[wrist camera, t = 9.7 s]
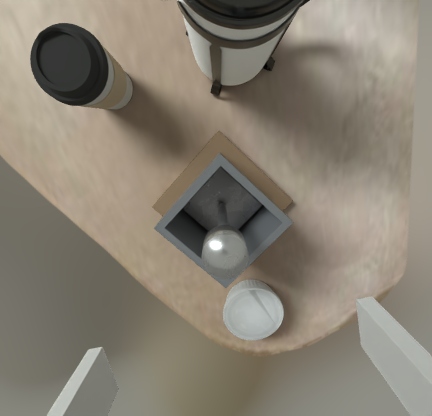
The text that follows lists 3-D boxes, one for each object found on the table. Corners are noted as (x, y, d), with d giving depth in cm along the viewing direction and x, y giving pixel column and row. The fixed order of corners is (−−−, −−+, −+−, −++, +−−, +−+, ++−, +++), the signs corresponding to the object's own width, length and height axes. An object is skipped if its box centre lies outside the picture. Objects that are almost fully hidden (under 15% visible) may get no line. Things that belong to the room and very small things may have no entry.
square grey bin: (218, 131, 45) (218, 124, 31) (290, 199, 48) (320, 221, 34) (153, 205, 49) (127, 229, 34) (224, 265, 51) (226, 310, 37)
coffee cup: (147, 104, 44) (112, 84, 30) (100, 124, 45) (44, 114, 31) (125, 49, 43) (76, -1, 28) (76, 71, 43) (3, 33, 29)
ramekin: (287, 285, 52) (294, 301, 47) (263, 329, 55) (268, 349, 50) (236, 265, 51) (238, 279, 46) (214, 311, 54) (214, 329, 49)
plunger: (220, 166, 44) (221, 185, 23) (261, 204, 45) (297, 254, 24) (183, 207, 45) (153, 260, 24) (223, 242, 47) (227, 320, 26)
